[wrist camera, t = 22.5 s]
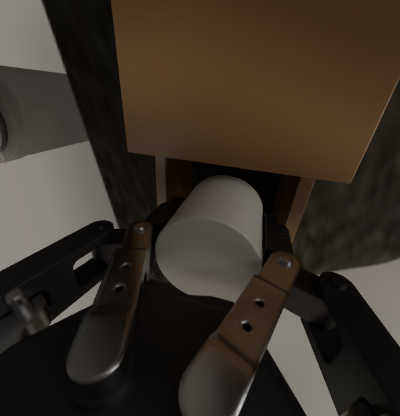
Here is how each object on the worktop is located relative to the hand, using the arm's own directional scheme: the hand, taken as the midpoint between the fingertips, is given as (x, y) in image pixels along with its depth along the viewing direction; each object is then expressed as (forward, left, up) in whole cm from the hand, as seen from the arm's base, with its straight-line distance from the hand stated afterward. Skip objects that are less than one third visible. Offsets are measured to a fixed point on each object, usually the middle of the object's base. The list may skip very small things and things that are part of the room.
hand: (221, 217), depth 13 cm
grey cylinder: (0, 0, -1) cm, 1 cm away
